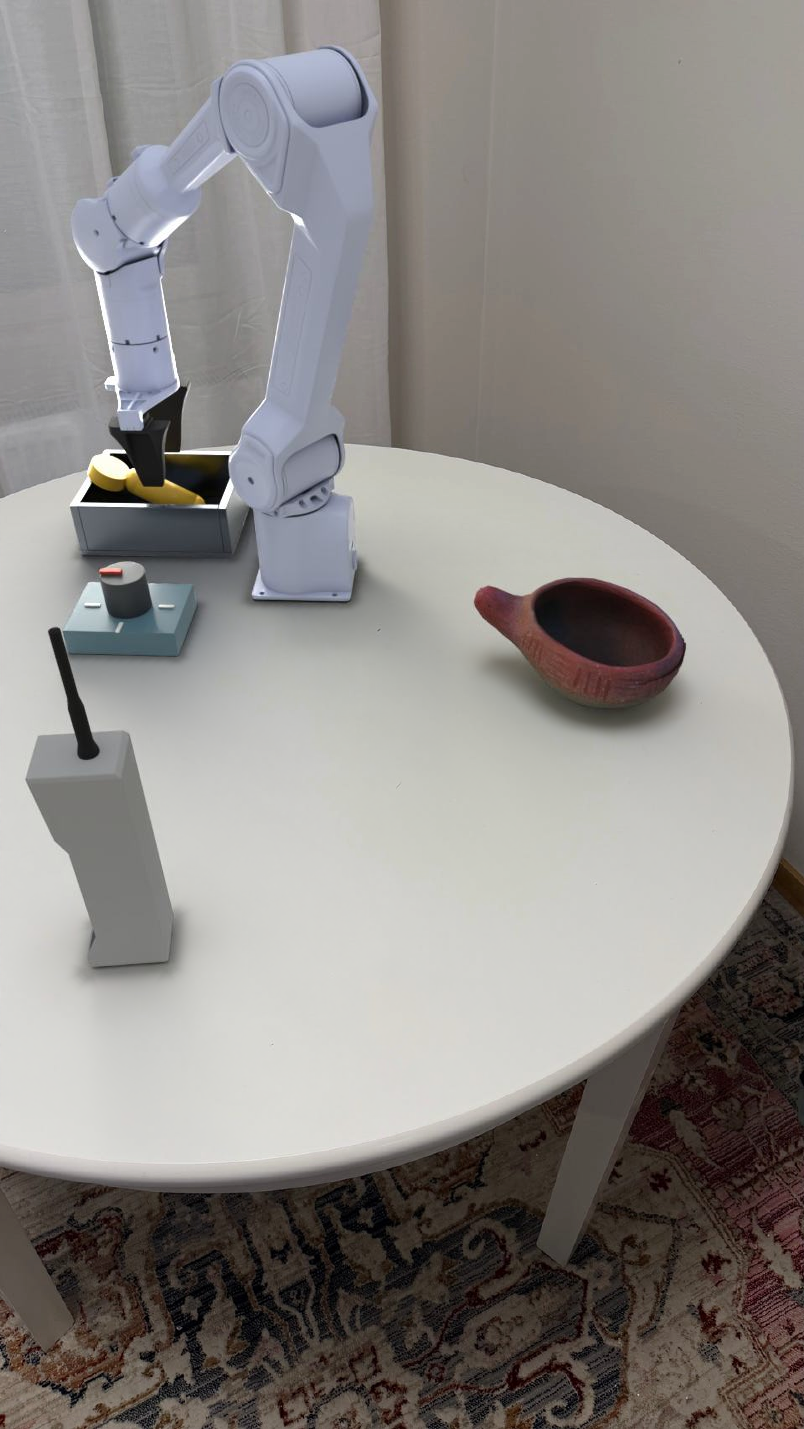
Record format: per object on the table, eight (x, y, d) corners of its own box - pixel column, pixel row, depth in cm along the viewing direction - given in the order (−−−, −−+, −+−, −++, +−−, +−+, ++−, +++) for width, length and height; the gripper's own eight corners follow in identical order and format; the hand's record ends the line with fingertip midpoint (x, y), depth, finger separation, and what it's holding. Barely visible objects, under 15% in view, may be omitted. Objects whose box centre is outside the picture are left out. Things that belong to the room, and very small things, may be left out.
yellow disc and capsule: (203, 514, 109) (213, 493, 107) (196, 532, 106) (205, 512, 104) (93, 461, 106) (101, 439, 104) (82, 479, 103) (90, 457, 101)
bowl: (638, 632, 91) (651, 556, 86) (697, 722, 82) (716, 642, 77) (467, 655, 89) (470, 578, 84) (507, 750, 79) (513, 670, 74)
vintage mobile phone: (98, 922, 67) (-2, 610, 51) (174, 917, 67) (98, 604, 51) (90, 969, 64) (-20, 654, 48) (169, 963, 64) (87, 648, 48)
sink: (253, 498, 112) (247, 451, 108) (232, 558, 102) (225, 508, 98) (114, 496, 112) (104, 449, 109) (81, 555, 103) (69, 506, 99)
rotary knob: (156, 594, 92) (149, 558, 90) (145, 619, 89) (138, 583, 87) (113, 593, 93) (105, 557, 90) (101, 618, 90) (92, 582, 87)
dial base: (197, 605, 96) (193, 581, 94) (178, 657, 89) (173, 632, 88) (94, 603, 96) (88, 579, 94) (67, 654, 90) (60, 630, 88)
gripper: (117, 308, 100) (142, 437, 109) (73, 363, 89) (104, 501, 98) (187, 309, 100) (206, 437, 109) (151, 363, 89) (176, 502, 98)
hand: (162, 468), depth 103 cm, fingers open, 7 cm apart
